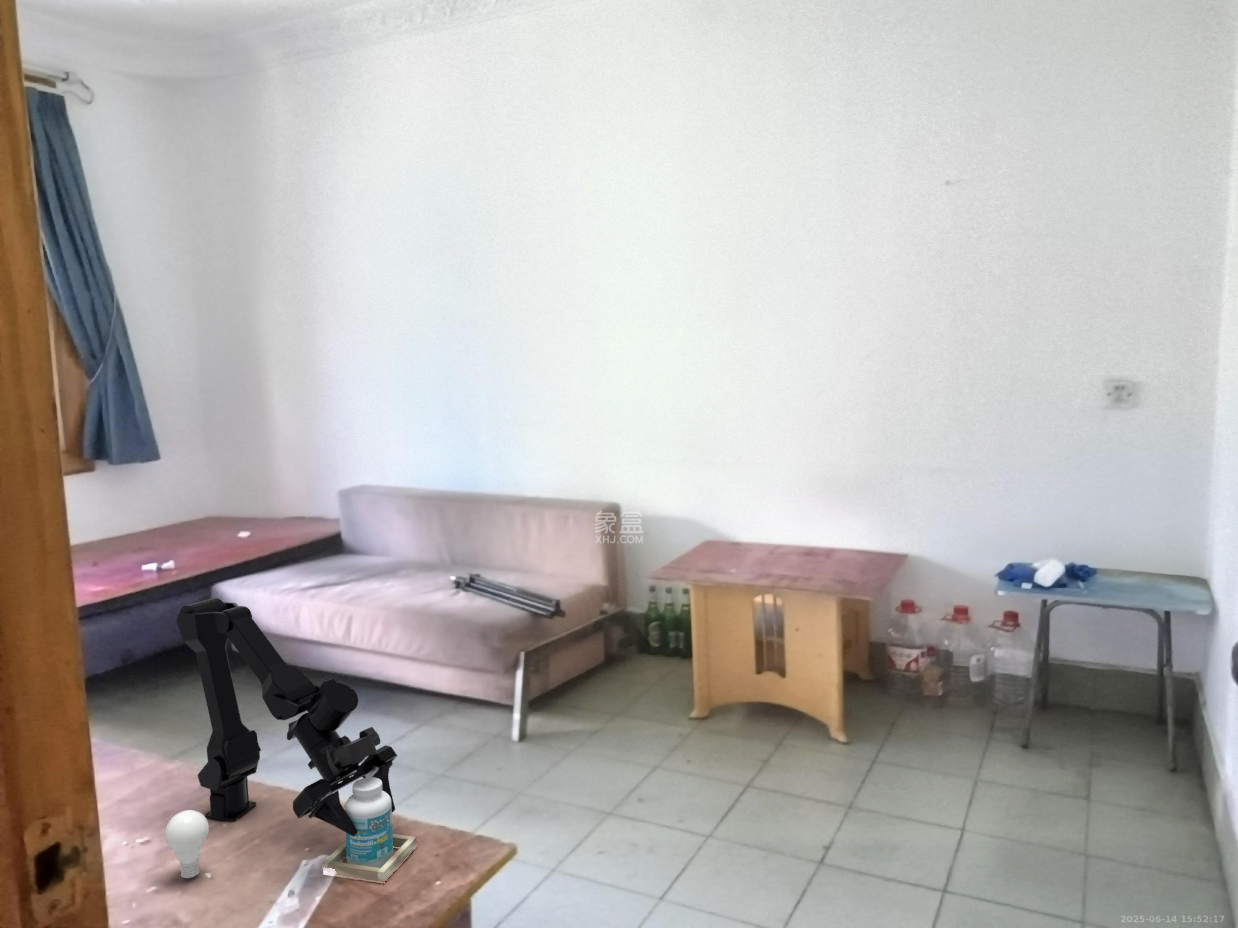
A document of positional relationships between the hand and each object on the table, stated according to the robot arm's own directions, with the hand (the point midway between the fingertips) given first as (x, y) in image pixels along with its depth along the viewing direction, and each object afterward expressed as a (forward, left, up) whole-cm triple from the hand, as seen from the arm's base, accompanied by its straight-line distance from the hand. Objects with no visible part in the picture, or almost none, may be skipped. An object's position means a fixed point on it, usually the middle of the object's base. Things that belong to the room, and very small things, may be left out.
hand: (374, 822), depth 150 cm
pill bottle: (0, -1, -7) cm, 7 cm away
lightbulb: (+11, -27, -7) cm, 30 cm away
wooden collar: (0, -1, -7) cm, 7 cm away
